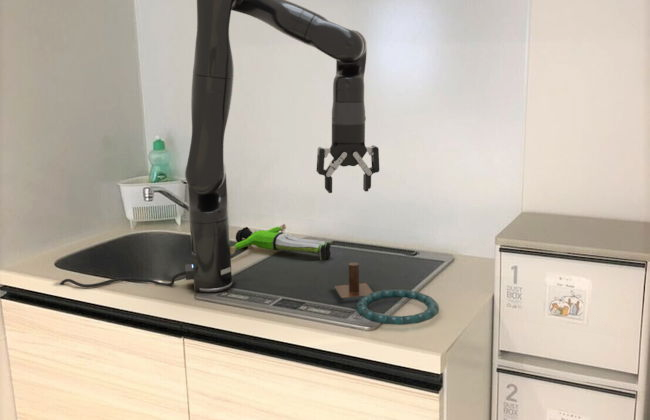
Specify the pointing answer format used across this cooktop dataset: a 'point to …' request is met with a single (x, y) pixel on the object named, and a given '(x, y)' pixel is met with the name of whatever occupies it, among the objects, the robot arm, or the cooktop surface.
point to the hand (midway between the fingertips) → (347, 191)
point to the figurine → (280, 242)
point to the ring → (399, 320)
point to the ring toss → (353, 284)
